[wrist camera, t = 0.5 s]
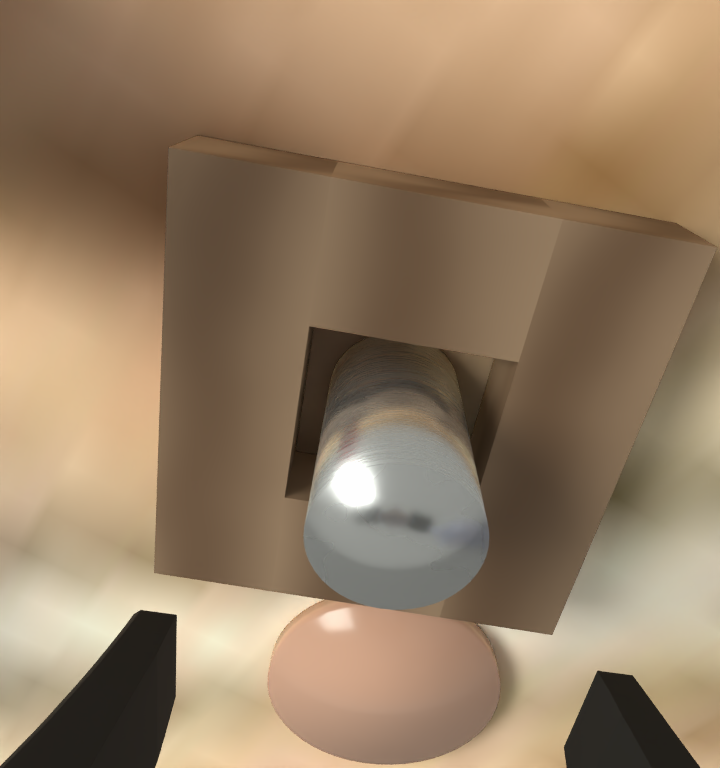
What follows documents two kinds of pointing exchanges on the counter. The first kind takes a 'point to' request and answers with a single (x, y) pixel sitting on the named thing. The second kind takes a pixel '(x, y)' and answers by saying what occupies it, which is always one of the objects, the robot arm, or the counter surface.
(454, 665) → the coaster
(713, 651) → the counter surface
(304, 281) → the pocket block
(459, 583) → the round metal peg
